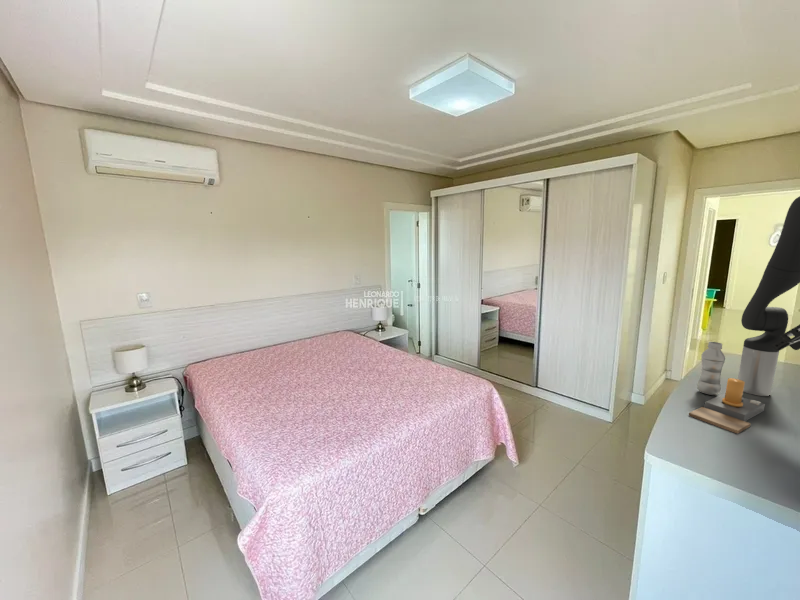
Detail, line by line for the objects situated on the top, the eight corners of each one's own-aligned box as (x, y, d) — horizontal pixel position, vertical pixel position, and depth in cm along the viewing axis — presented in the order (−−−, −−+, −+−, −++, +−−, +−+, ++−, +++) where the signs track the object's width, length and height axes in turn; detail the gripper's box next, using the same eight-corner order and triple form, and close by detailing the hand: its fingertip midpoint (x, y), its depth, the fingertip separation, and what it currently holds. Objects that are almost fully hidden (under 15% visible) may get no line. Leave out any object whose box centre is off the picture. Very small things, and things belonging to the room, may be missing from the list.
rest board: (701, 409, 113) (702, 406, 113) (750, 426, 103) (750, 423, 102) (688, 415, 109) (689, 412, 109) (737, 433, 99) (738, 430, 98)
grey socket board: (725, 398, 121) (726, 390, 120) (763, 410, 112) (765, 402, 112) (703, 408, 114) (705, 400, 113) (743, 422, 105) (745, 413, 104)
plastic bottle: (724, 398, 121) (733, 346, 118) (703, 396, 123) (711, 345, 120) (711, 390, 128) (719, 341, 124) (691, 389, 129) (699, 340, 126)
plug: (724, 406, 115) (729, 376, 114) (744, 412, 111) (749, 381, 109) (718, 409, 113) (722, 379, 111) (737, 416, 109) (743, 384, 107)
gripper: (845, 303, 93) (786, 338, 105) (814, 302, 90) (756, 338, 101) (875, 323, 88) (810, 357, 100) (843, 323, 85) (779, 359, 96)
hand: (783, 348), depth 100 cm, fingers open, 8 cm apart
